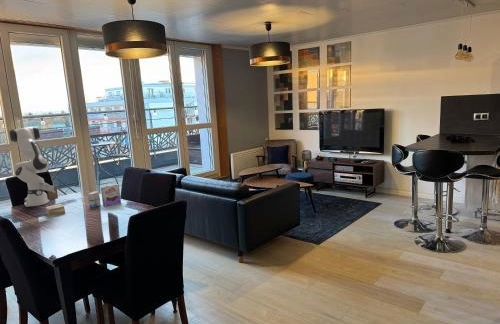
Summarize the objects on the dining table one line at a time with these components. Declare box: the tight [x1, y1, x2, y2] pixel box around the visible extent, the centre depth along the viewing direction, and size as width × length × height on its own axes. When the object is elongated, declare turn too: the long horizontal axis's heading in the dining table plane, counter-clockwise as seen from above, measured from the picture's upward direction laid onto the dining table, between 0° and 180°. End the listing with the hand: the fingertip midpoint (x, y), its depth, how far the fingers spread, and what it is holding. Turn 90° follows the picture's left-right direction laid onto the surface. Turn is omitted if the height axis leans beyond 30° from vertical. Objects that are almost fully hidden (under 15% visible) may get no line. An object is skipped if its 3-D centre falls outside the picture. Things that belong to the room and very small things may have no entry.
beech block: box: [45, 203, 66, 218], centre depth 269 cm, size 11×11×6 cm
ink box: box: [87, 191, 101, 208], centre depth 283 cm, size 9×5×12 cm, turn 168°
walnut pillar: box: [46, 185, 59, 201], centre depth 267 cm, size 5×5×10 cm
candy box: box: [100, 183, 122, 207], centre depth 285 cm, size 14×6×16 cm, turn 120°
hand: (53, 191), depth 267 cm, fingers closed on walnut pillar, 5 cm apart
